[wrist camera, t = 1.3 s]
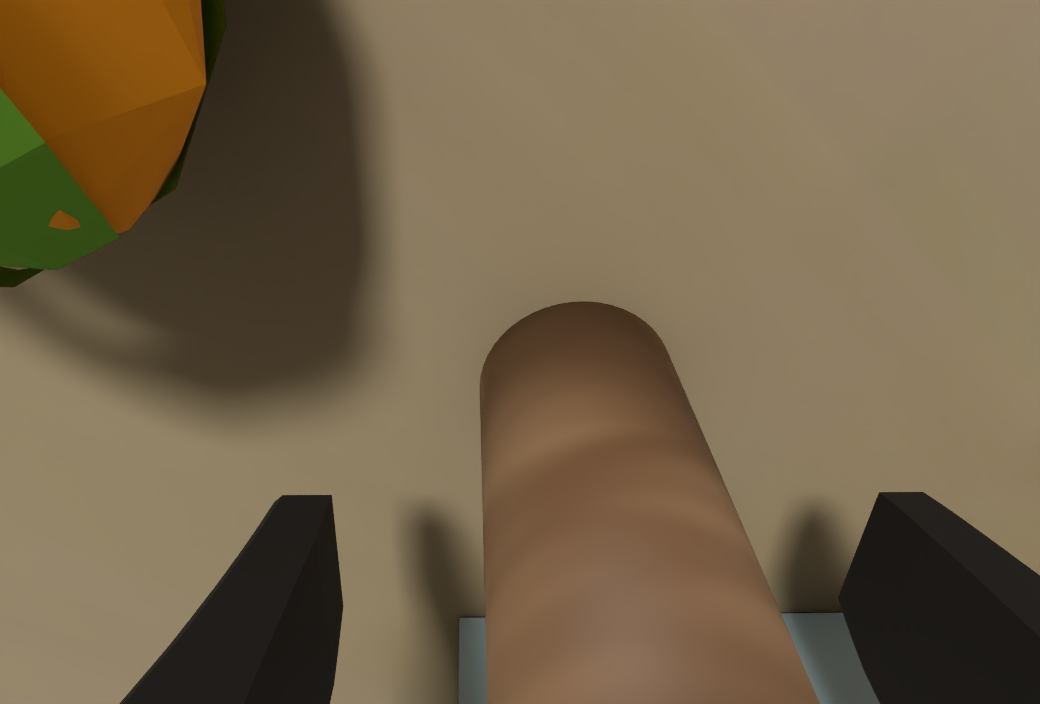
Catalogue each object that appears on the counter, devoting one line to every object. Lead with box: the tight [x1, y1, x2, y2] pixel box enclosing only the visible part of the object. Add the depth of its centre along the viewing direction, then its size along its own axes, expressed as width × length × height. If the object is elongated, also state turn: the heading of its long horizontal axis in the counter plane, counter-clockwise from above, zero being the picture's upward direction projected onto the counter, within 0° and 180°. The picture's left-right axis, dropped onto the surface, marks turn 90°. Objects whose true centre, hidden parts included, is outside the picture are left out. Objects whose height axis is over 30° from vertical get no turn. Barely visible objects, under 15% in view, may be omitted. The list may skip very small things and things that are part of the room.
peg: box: [480, 302, 820, 704], centre depth 10 cm, size 3×3×7 cm
